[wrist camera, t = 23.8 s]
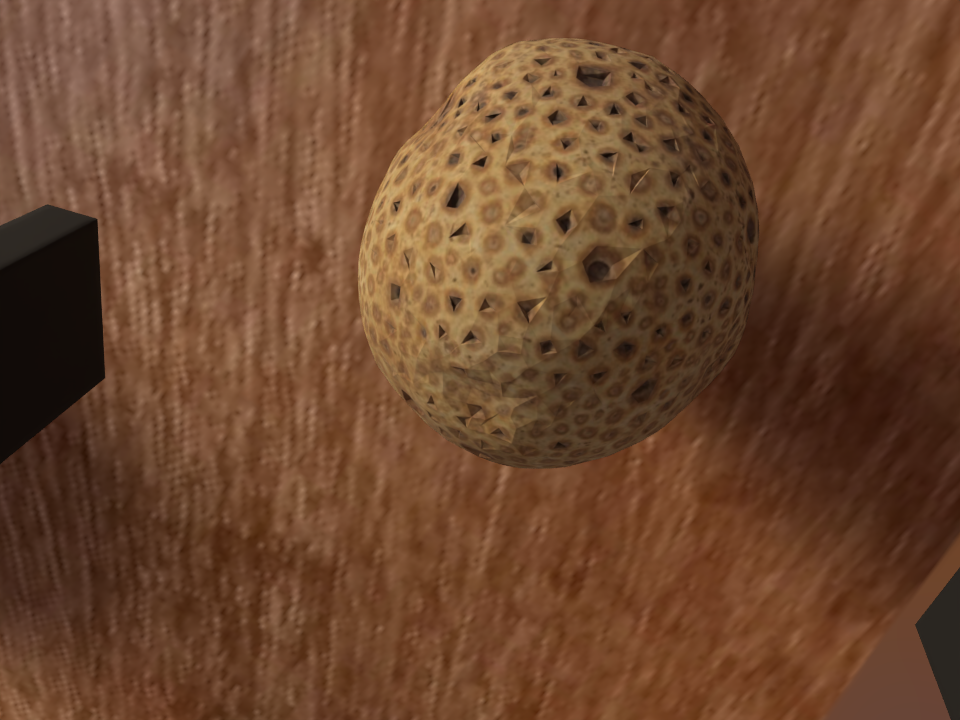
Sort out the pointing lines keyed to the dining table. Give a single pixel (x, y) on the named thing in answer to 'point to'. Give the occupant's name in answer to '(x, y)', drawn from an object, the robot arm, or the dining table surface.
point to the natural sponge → (560, 255)
